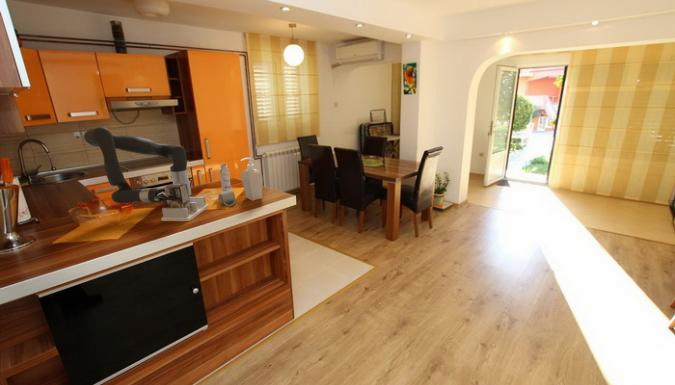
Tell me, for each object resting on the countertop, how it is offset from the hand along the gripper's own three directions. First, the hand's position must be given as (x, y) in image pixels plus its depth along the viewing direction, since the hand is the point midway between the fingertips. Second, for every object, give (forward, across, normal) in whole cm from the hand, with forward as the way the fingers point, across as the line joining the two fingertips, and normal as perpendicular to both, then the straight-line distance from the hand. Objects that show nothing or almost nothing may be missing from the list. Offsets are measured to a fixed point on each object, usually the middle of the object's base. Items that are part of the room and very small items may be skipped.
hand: (181, 195), depth 162 cm
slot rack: (-2, +5, +12) cm, 13 cm away
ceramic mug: (+15, +21, +12) cm, 29 cm away
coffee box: (-2, 0, +11) cm, 11 cm away
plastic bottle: (+6, +40, +12) cm, 42 cm away
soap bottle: (+26, +32, +12) cm, 43 cm away
